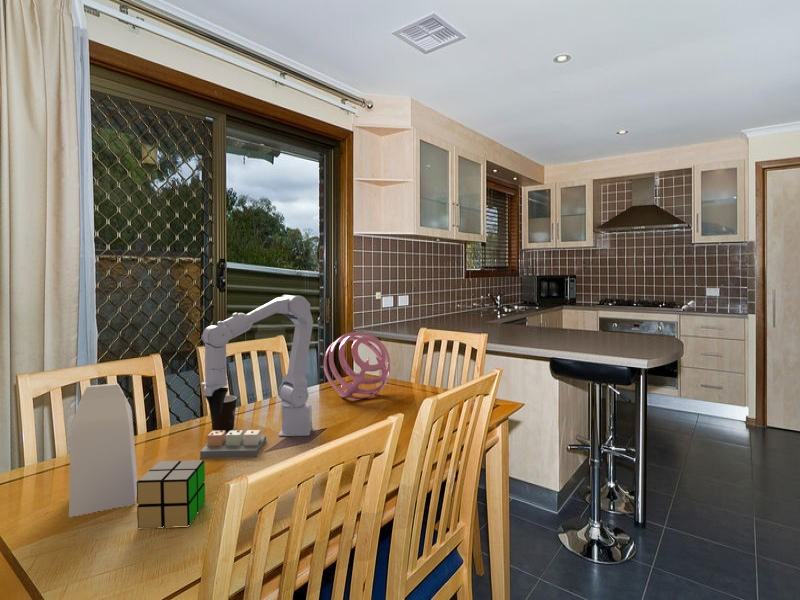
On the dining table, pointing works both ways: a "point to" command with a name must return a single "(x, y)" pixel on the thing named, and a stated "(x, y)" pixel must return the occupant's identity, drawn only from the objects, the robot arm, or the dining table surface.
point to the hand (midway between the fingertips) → (216, 414)
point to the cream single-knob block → (252, 437)
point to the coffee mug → (225, 415)
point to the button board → (233, 450)
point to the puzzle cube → (171, 494)
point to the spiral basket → (363, 365)
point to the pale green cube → (234, 438)
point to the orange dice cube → (217, 438)
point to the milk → (102, 452)
